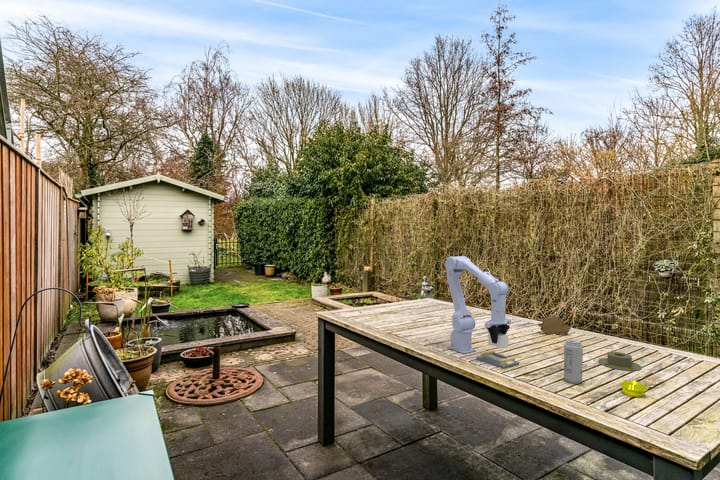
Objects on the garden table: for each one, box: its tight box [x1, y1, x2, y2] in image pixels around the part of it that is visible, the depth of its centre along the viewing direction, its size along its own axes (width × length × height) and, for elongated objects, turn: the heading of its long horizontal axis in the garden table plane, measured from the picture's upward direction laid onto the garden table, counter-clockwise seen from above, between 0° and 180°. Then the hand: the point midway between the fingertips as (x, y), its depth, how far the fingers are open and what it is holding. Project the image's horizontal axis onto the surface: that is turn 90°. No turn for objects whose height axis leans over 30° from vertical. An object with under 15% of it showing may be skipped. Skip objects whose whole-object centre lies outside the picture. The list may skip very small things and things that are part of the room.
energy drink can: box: [563, 338, 584, 385], centre depth 145 cm, size 6×6×15 cm
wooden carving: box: [537, 315, 572, 335], centre depth 212 cm, size 16×5×10 cm, turn 80°
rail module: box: [487, 332, 509, 349], centre depth 166 cm, size 7×4×5 cm, turn 33°
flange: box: [598, 351, 642, 372], centre depth 163 cm, size 5×15×15 cm
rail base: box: [476, 350, 520, 370], centre depth 166 cm, size 14×10×3 cm
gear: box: [619, 379, 648, 398], centre depth 134 cm, size 8×4×8 cm
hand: (497, 342), depth 166 cm, fingers closed on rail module, 4 cm apart
